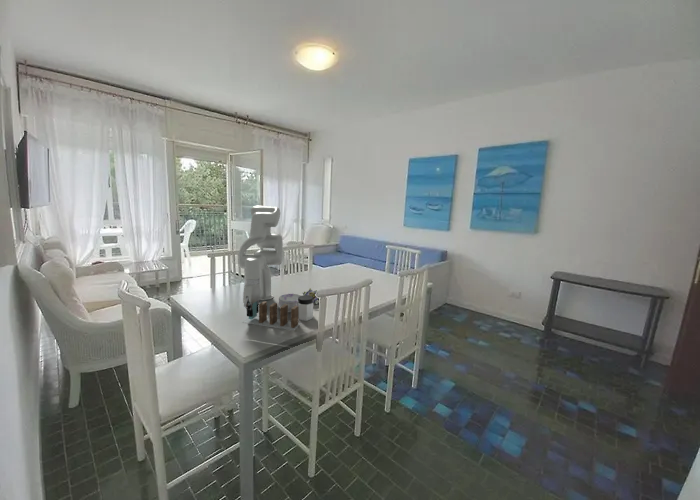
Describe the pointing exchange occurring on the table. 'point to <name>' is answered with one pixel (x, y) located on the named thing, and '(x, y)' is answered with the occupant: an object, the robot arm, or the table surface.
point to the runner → (266, 323)
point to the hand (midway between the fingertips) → (252, 314)
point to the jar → (305, 307)
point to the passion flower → (312, 295)
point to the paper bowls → (289, 300)
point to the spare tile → (254, 310)
